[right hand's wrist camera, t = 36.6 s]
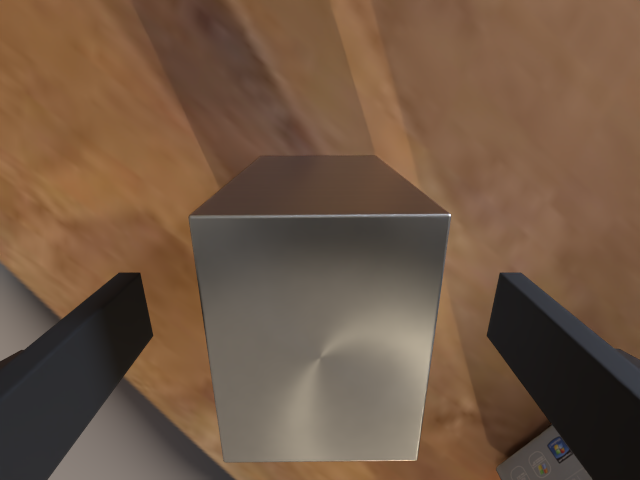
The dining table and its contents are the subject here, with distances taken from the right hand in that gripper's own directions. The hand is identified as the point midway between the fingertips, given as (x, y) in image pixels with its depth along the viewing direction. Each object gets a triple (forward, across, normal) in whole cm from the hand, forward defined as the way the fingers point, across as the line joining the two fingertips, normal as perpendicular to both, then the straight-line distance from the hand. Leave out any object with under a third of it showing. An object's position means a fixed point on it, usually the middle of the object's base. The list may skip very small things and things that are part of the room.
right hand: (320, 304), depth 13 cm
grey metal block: (+8, 0, 0) cm, 8 cm away
